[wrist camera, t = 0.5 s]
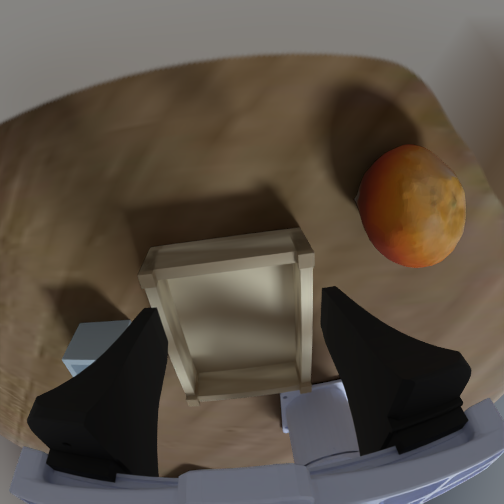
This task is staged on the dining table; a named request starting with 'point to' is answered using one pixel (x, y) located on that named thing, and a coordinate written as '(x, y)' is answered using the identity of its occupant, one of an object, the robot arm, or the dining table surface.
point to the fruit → (412, 206)
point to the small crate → (91, 343)
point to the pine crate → (235, 312)
